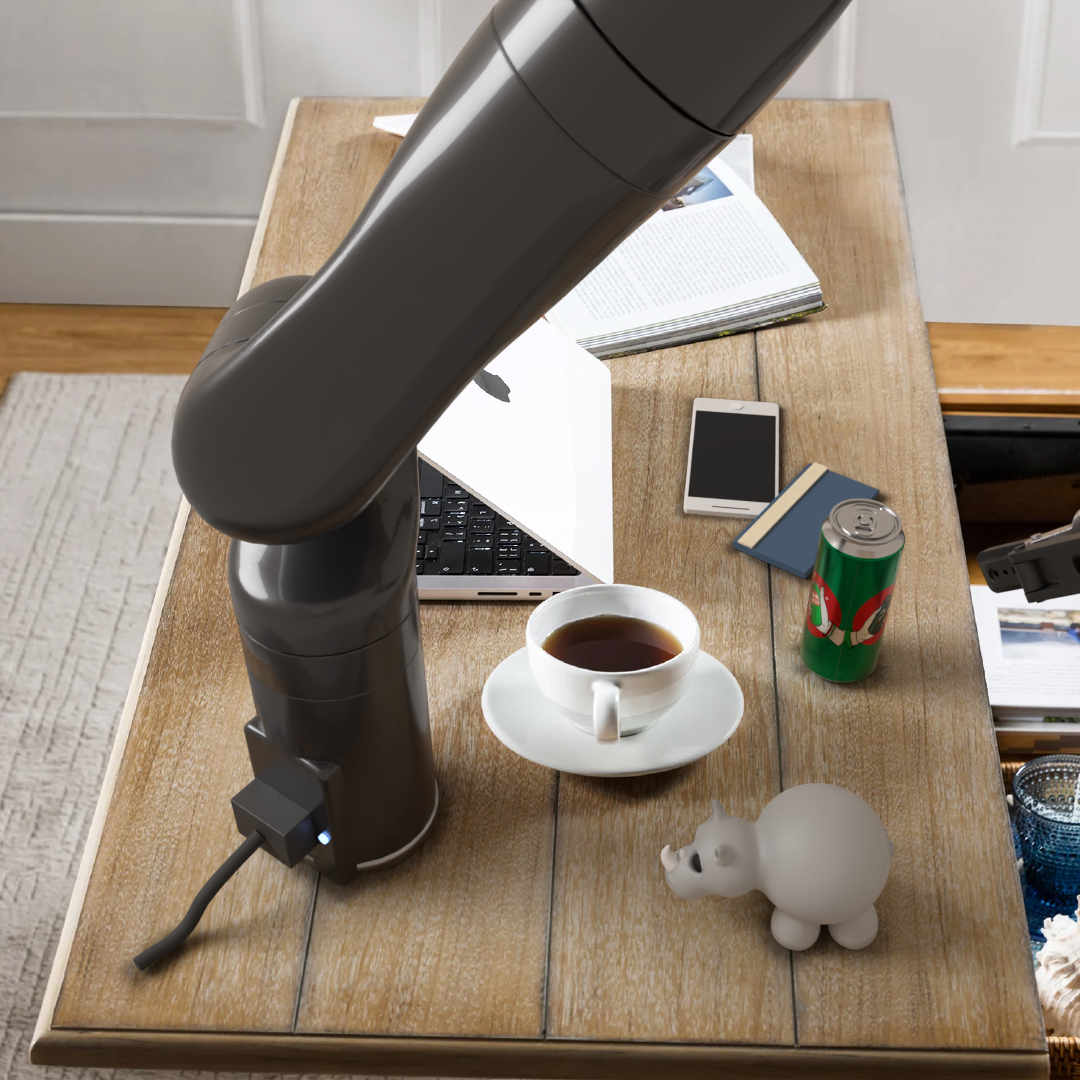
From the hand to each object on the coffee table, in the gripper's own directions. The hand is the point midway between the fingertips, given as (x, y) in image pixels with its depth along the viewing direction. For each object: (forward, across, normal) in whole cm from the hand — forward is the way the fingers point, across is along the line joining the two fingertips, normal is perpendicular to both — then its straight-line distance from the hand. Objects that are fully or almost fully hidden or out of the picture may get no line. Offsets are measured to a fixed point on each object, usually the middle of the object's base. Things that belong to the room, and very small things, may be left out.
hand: (1044, 541), depth 66 cm
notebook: (+30, -8, -4) cm, 31 cm away
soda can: (+21, 0, +5) cm, 22 cm away
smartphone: (+37, -9, -10) cm, 39 cm away
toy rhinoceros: (+13, +17, +13) cm, 25 cm away
